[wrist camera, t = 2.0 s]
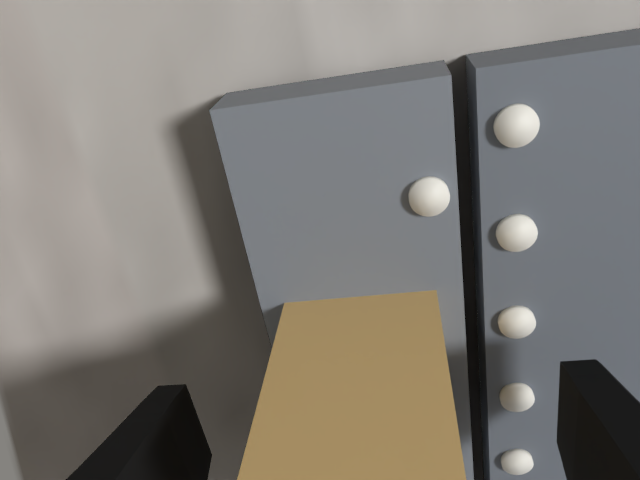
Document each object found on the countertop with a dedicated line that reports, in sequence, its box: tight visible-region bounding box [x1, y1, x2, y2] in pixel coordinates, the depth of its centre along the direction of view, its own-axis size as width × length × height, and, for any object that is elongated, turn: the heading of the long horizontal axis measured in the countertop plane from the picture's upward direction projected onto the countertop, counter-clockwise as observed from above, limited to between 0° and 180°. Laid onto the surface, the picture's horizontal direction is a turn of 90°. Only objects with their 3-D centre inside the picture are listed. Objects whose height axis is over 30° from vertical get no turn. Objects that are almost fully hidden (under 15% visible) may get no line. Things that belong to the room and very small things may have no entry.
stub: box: [209, 60, 474, 480], centre depth 10 cm, size 4×12×6 cm, turn 10°
